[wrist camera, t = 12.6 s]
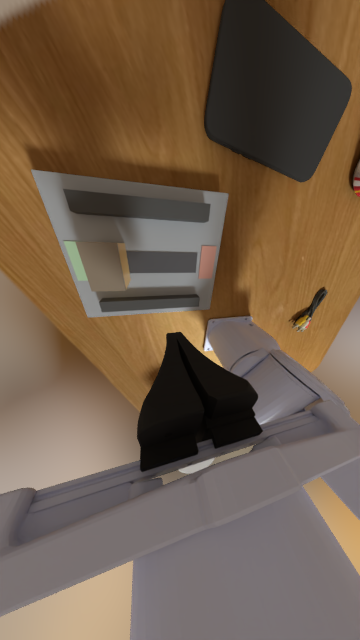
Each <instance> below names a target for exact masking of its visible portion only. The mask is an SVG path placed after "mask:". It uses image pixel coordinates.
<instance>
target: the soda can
mask: <svg viewBox="0 0 360 640" xmlns="http://www.w3.org/2000/svg"><path fill="white" fill-rule="evenodd" d="M353 187H354V191H355V193H356V195H357V196H359V197H360V160H359V162H358V164H357V166H356V168H355V171H354V175H353Z"/></svg>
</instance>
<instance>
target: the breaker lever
mask: <svg viewBox="0 0 360 640" xmlns="http://www.w3.org/2000/svg"><path fill="white" fill-rule="evenodd" d="M75 243H76V246H77V249H78V252H79V255H80V258H81V261H82V264H83V267H84V270H85V273H86V276H87V279H88V282H89V285H90V288H91V291H92V292H97V291H126V289H127V287H128V285H129V283H130V281H131V278H130V272H129V265H128V259H127V253H126V247H125V243H105V242H75Z"/></svg>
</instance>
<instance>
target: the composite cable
mask: <svg viewBox="0 0 360 640" xmlns="http://www.w3.org/2000/svg"><path fill="white" fill-rule="evenodd" d="M326 294H327V290H320V291H319V292H318V293H317V294H316V296H315V298H314V300H313V303H312V305H311V307H310V308H309V309H308V310H306V311H305V312H304V313H303V314H302V315H301V316H300V317H299V318H298V319H297V320H296V322H295V324H294V326H293V327H292V328H293V329H294V328H295V327H296V326H297V327H298V328H299V329H298V330H297V332H299V331H300V330H301V329H302V330H301V332H303V330H304V329H306V328H307V327H308V326H309V324H310V321H311V318H312V315H313V313H314V311H315V309H316V308H317V307H318V305H319V304H320V303H321V302H322V300H323V299H324V298H325V296H326Z"/></svg>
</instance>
